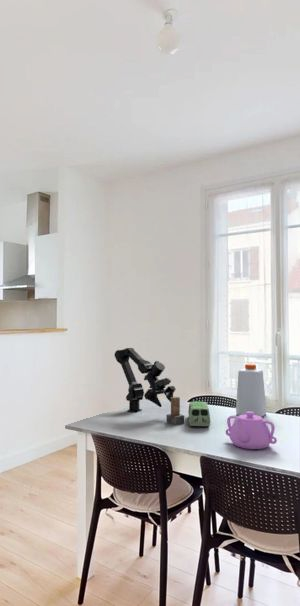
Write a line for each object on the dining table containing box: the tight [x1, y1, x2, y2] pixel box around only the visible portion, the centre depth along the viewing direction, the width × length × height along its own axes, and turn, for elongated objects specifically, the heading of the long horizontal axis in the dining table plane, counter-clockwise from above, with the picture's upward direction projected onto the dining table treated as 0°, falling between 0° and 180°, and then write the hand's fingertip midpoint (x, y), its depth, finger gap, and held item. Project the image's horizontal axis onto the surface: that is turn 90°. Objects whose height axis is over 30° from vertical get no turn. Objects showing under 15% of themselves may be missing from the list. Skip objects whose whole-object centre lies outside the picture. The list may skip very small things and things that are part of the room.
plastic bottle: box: [235, 363, 267, 418], centre depth 213 cm, size 15×15×28 cm
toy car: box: [188, 401, 211, 428], centre depth 195 cm, size 11×25×10 cm, turn 175°
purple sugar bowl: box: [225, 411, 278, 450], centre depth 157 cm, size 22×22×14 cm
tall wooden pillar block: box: [165, 396, 185, 426], centre depth 194 cm, size 7×6×13 cm
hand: (167, 405), depth 199 cm, fingers open, 9 cm apart
